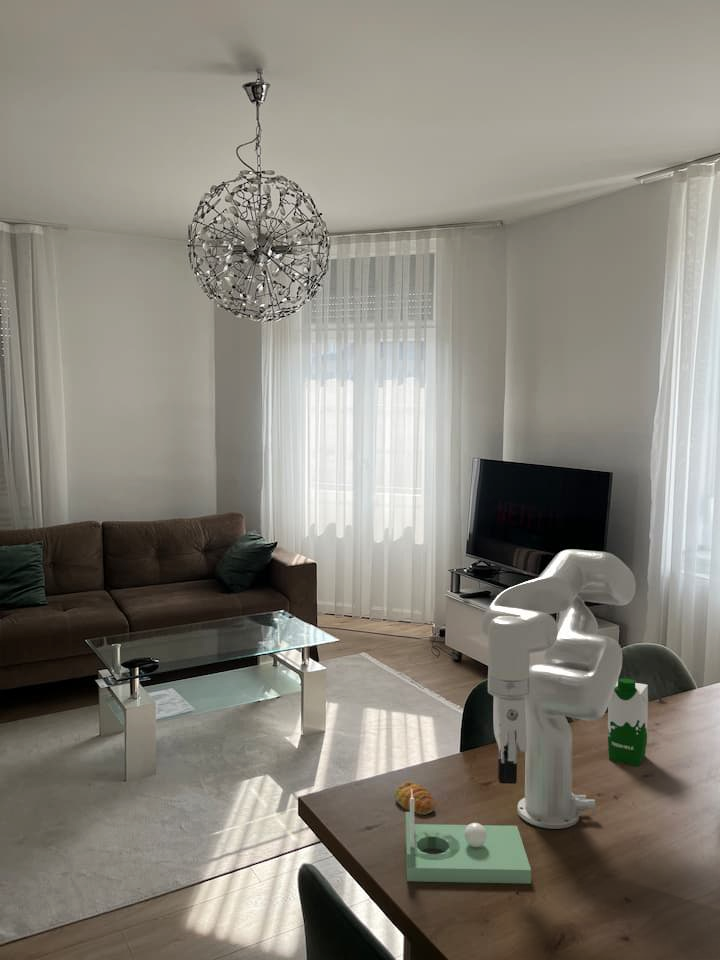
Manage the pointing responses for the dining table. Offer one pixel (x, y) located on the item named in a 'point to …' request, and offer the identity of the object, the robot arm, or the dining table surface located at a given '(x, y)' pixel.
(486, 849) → the mat
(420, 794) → the pastry
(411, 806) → the flag
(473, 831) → the ball
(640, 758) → the milk carton
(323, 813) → the dining table surface
